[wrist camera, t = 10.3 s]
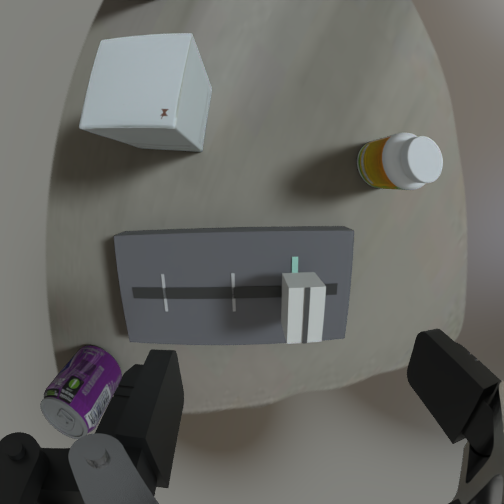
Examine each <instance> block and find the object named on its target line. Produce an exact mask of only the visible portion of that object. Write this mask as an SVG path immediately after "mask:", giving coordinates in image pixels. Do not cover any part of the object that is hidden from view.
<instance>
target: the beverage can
mask: <svg viewBox="0 0 504 504" xmlns="http://www.w3.org/2000/svg"><path fill="white" fill-rule="evenodd" d="M121 378H122V374H121V370H120V367H119V365H118V363H117V362H116V360H115V359H114V358H113V357H112V356H111V355H110V354H109V353H108V352H106V351H105V350H103V349H101V348H99V347H96V346H84V347H82V348H81V349H80V350H79V351H78V352H77V353H76V354H75V355H74V356H73V358H72V359H71V360H70V361H69V362H68V363H67V364H66V366H65V367H64V368H63V369H62V370H61V372H60V373H59V374H58V375H57V376H56V377H55V379H54V380H53V381H52V382H51V384H50V385H49V386H48V387H47V388H46V390H45V393H44V399H43V400H42V401H41V404H40V405H41V411H42V413H43V415H44V417H45V418H46V419H47V421H48V422H49V423H50V424H51V425H52V426H53V427H54V428H55V429H57V430H58V431H59V432H61V433H62V434H64V435H66V436H68V437H71V438H74V439H79V438H81V437H83V436H86V435H87V433H89V432H91V431H92V430H94V429H95V427H96V425H97V424H98V422H99V419H100V418H101V416H102V414H103V412H104V410H105V409H106V407H107V405H108V403H109V401H110V399H111V398H112V396H113V394H114V392H115V390H116V389H117V387H118V385H119V383H120V381H121Z"/></svg>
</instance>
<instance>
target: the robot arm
mask: <svg viewBox="0 0 504 504" xmlns="http://www.w3.org/2000/svg"><path fill="white" fill-rule="evenodd" d="M407 378H408V382H409V383H410V385H411V387H412V388H413V389H414V391H415V392H416V393H417V395H418V396H419V397H420V399H421V400H422V402H423V403H424V404H425V406H426V407H427V408H428V410H429V411H430V413H431V414H432V415H433V417H434V418H435V419H436V421H437V422H438V424H439V425H440V426H441V428H442V429H443V431H444V432H445V433H446V435H447V436H448V438H449V439H450V440H451V442H452V443H453V444H454V443H456V442H458V441H460V440H462V439H464V438H466V439H467V440H468V441H467V443H466V444H465V446H464V450H463V458H462V466H461V473H460V479H459V485H458V490H457V493H456V495H455V497H454V499H453V500H452V502H450V503H449V504H504V380H503V381H501V380H499V379H498V378H497V377H496V376H495V375H494V374H493V373H492V372H491V371H490V370H489V369H488V368H487V367H486V366H484V365H483V364H482V363H481V362H480V361H477V358H475V357H474V356H473V355H472V354H471V355H470V352H469V351H467V349H465V348H464V347H463V346H462V345H460V344H458V343H456V342H454V341H453V340H452V339H451V338H450V337H448V336H447V335H446V334H445V333H444V332H443V331H441V330H440V329H433V330H428V331H423V332H420V333H419V334H418V335H417V337H416V340H415V344H414V348H413V351H412V355H411V358H410V362H409V365H408V369H407ZM183 405H184V391H183V385H182V380H181V374H180V369H179V363H178V357H177V353H176V351H175V350H150V352H149V354H148V356H147V359H146V361H145V363H144V365H139V364H135V365H134V366H133V367H131V368H130V369H129V370H128V371H127V372H125V373H124V375H123V377H122V379H121V381H120V383H119V385H118V387H117V389H116V391H115V393H114V397H112V399H111V401H110V403H109V405H108V407H107V409H106V411H105V413H104V415H103V417H102V419H101V422H100V424H99V426H98V428H97V430H96V432H95V434H89V435H86V436H83V437H81V438H79V439H78V440H77V441H75V442H74V444H73V445H72V446H71V448H66V449H60V448H59V449H58V448H54V449H53V448H41V447H40V446H39V444H38V443H37V441H36V440H35V439H34V438H33V437H32V436H31V435H29V434H26V433H21V432H17V433H12V434H9V435H7V436H5V437H4V438H3V439H2V440H1V441H0V504H159V503H158V502H157V500H156V499H155V498H154V495H155V490H156V487H163V488H168V486H169V481H170V474H171V469H172V463H173V458H174V452H175V447H176V442H177V436H178V431H179V426H180V421H181V416H182V410H183Z"/></svg>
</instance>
